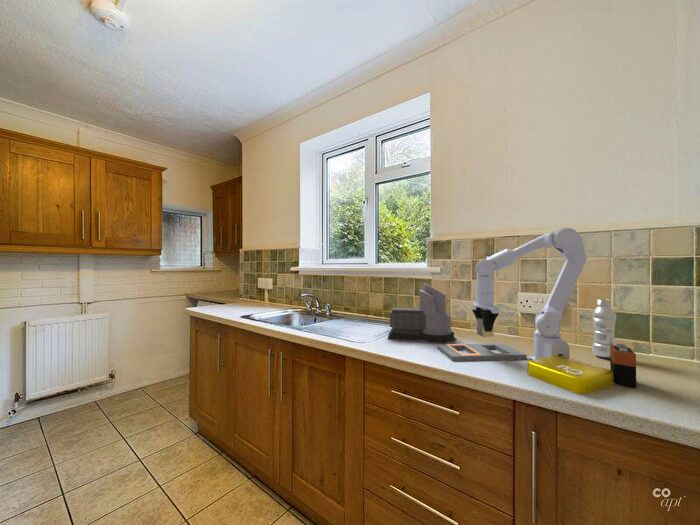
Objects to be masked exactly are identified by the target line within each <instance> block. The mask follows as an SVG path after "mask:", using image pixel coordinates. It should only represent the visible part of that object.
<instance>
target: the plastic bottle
mask: <svg viewBox="0 0 700 525" xmlns="http://www.w3.org/2000/svg"><path fill="white" fill-rule="evenodd" d="M596 305H597V306H596V307H595V308H594V310H592V313H591V318H592V324H593V342H592V345H591V346H592V347H591V350H592V353H593V355H595V356H597V357H601V358H604V359H610V346H617V345H616V340H615V328H616V323H617V314H616V312H615V311H614V309H613V308H612V307H611V306H612V304H611V299H608V298H607V299H604V298H597V299H596Z"/></svg>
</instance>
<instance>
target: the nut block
mask: <svg viewBox="0 0 700 525" xmlns="http://www.w3.org/2000/svg"><path fill="white" fill-rule="evenodd" d="M494 327H495V326H494V325H493V328H492V332H486V331H485V329H484V321H483V318H477V320H476V334H477V335H479V336H480V337H485V338H487V337H489V338H491V337H492V338H493V337H494V334H495V332H494Z"/></svg>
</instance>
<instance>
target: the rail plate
mask: <svg viewBox="0 0 700 525" xmlns="http://www.w3.org/2000/svg"><path fill="white" fill-rule="evenodd" d="M436 349H437V350H438V351H439V350H440V353H442V354H443V355H444V354H445V357H446V358H448V359H449V358H450V359H449V360H451V361H452V362H458V361H459V362H462V361H469V362H470V361H499V360H501V361H504V360H512V361H513V360H527V359H528V356H527V354H526V353H524V352H522V351H519V350H517V349H515V348H513V347H510V346H508V345H506V344H504V343H470V344H469V343H445V344H436ZM495 349H496V350H495ZM458 350H459V351H458ZM463 350H464V351H466V352H467V353H461V352H460V351H463ZM492 350H495V351H497V350H498V352H499V353H496V352H494V351H492Z"/></svg>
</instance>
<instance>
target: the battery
mask: <svg viewBox="0 0 700 525" xmlns="http://www.w3.org/2000/svg"><path fill="white" fill-rule="evenodd" d="M615 345H616V346H610V358H609V360H610V361H609V362H610V364H609V365H610V369H609V370H612V371H613V373H614V385H616V386H619V387H626V388H631V389H636V388H637V354H636V353H635V351H633V349H632V348H631V347H628V346H627V344H624V343H615Z"/></svg>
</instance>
